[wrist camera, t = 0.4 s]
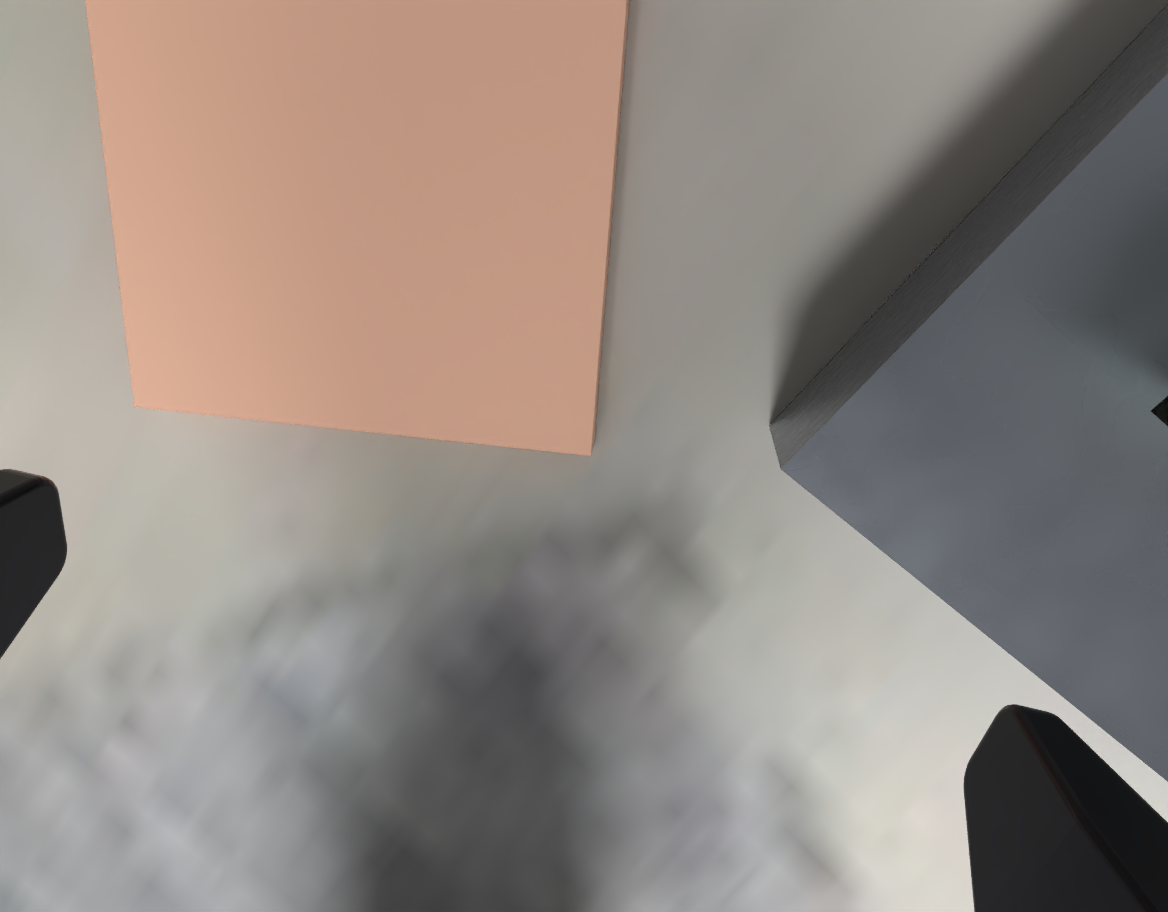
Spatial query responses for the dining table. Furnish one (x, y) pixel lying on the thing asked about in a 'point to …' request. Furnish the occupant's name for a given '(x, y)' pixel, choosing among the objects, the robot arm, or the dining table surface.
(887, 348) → the socket plate
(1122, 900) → the robot arm
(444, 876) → the dining table surface
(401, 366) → the terracotta pad
